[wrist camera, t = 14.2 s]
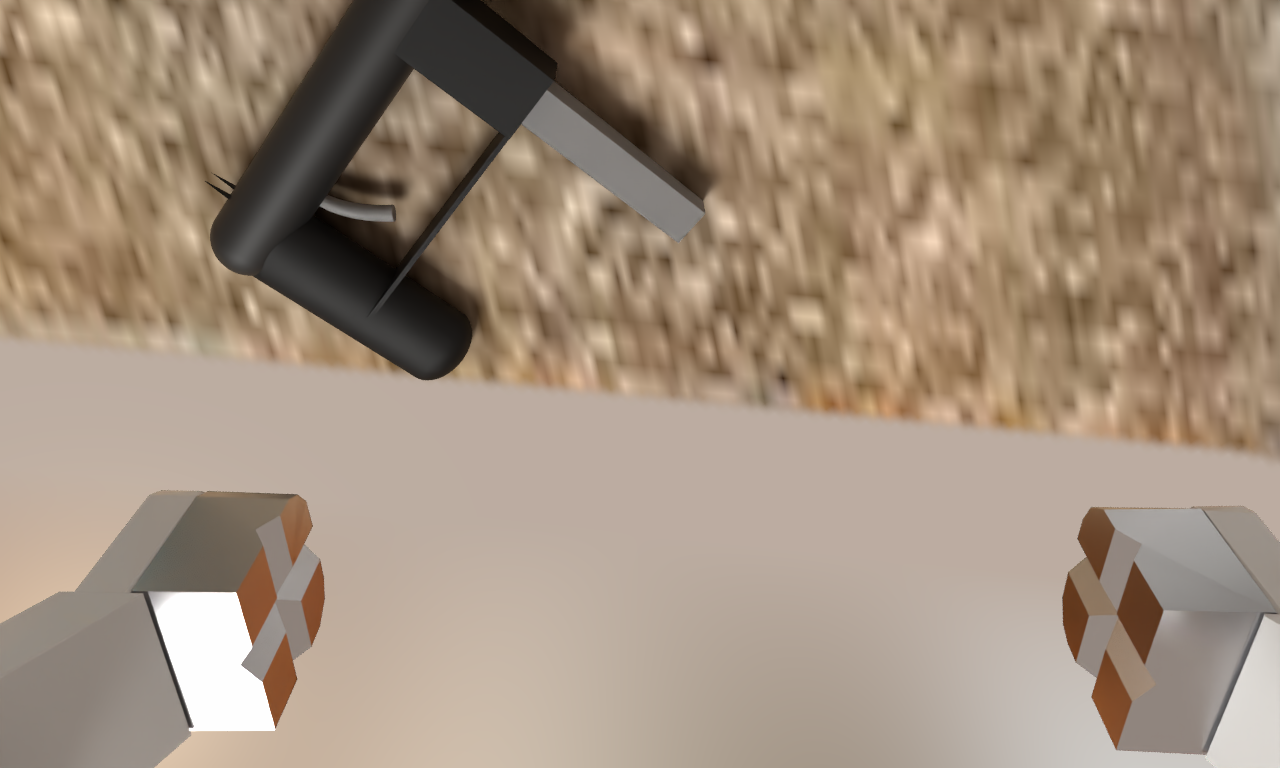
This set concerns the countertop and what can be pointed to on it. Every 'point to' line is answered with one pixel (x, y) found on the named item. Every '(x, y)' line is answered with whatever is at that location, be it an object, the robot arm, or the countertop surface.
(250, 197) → the door handle
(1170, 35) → the countertop surface
